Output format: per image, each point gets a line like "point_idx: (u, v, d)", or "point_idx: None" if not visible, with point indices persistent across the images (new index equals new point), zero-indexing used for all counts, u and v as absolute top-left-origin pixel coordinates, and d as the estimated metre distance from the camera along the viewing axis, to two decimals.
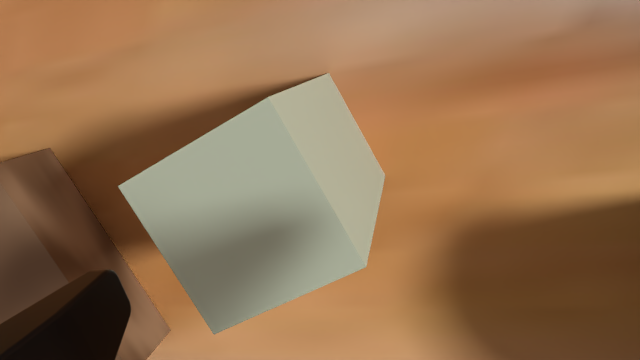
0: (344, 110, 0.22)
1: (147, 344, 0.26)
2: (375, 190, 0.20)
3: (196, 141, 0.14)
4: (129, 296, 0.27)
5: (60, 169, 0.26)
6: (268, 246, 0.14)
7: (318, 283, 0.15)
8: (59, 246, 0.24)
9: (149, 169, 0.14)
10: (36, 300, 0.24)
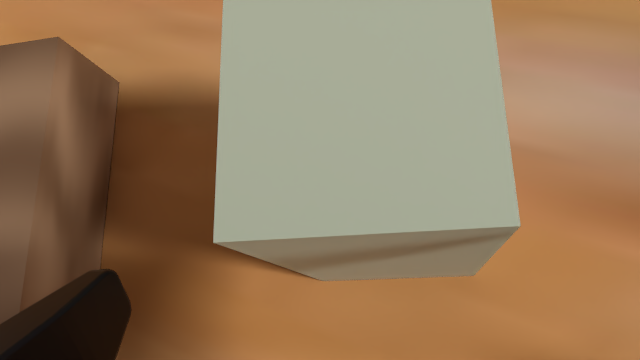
0: None
1: None
2: None
3: None
4: (80, 272, 0.20)
5: (113, 105, 0.23)
6: (377, 138, 0.09)
7: (426, 223, 0.09)
8: (57, 157, 0.19)
9: None
10: None
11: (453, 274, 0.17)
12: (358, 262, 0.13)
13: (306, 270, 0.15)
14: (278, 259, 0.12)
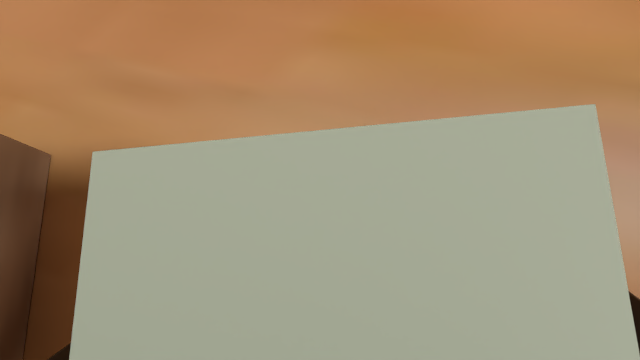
0: None
1: None
2: None
3: (341, 132, 0.05)
4: None
5: (41, 186, 0.18)
6: None
7: None
8: None
9: (187, 146, 0.06)
10: None
11: None
12: None
13: None
14: None
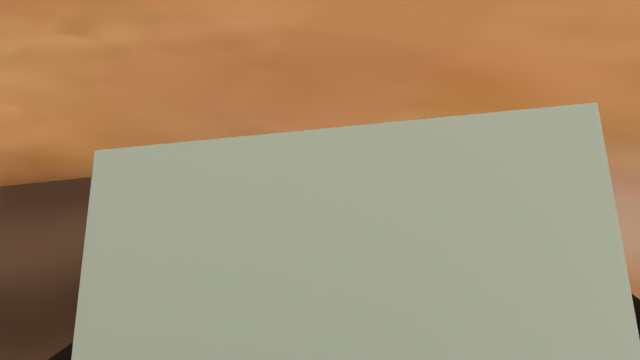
0: None
1: None
2: None
3: (342, 130, 0.05)
4: None
5: None
6: None
7: None
8: None
9: (189, 145, 0.06)
10: None
11: None
12: None
13: None
14: None
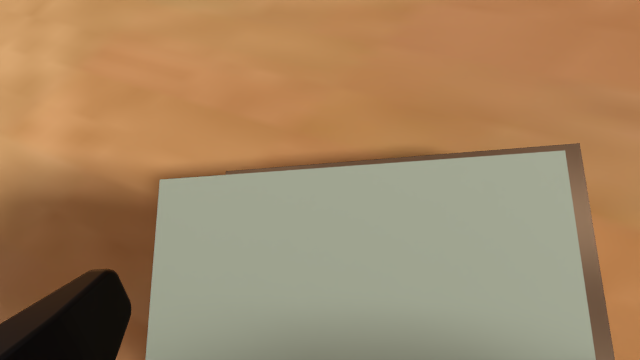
0: None
1: None
2: None
3: (364, 168, 0.07)
4: None
5: None
6: None
7: None
8: None
9: (239, 177, 0.07)
10: None
11: None
12: None
13: None
14: None
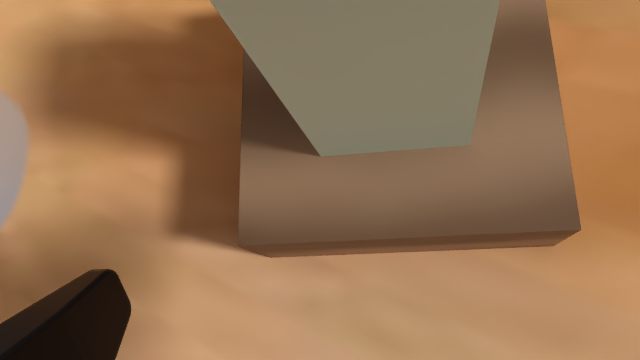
0: None
1: None
2: None
3: None
4: None
5: None
6: None
7: None
8: None
9: None
10: (490, 84, 0.18)
11: (449, 138, 0.17)
12: (354, 85, 0.13)
13: (303, 113, 0.15)
14: (274, 69, 0.12)
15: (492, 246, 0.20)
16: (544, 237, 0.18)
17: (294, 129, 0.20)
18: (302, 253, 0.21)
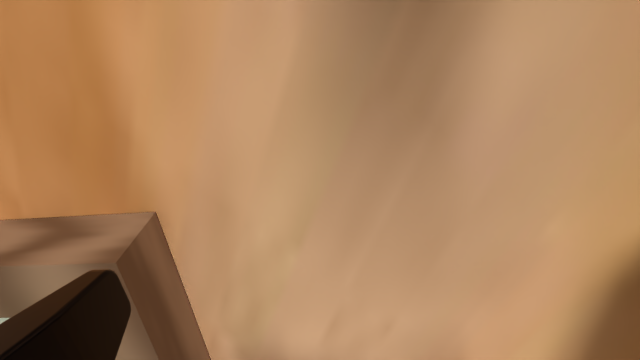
0: None
1: (127, 236, 0.23)
2: None
3: None
4: (88, 228, 0.24)
5: None
6: None
7: None
8: None
9: None
10: (29, 303, 0.24)
11: None
12: None
13: None
14: None
15: (164, 258, 0.25)
16: (137, 257, 0.23)
17: None
18: None
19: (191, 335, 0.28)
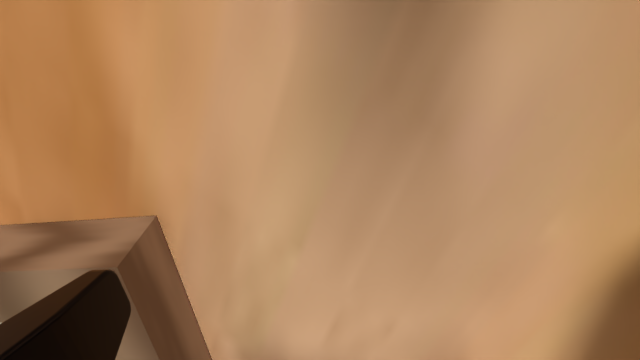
0: None
1: (128, 240, 0.23)
2: None
3: None
4: (89, 232, 0.25)
5: None
6: None
7: None
8: None
9: None
10: None
11: None
12: None
13: None
14: None
15: (165, 262, 0.26)
16: (138, 261, 0.23)
17: None
18: None
19: (193, 338, 0.28)
